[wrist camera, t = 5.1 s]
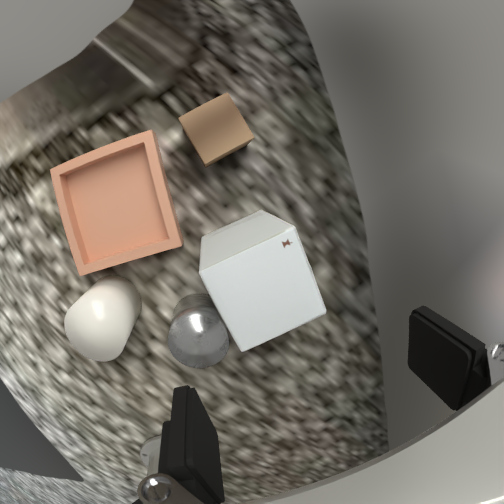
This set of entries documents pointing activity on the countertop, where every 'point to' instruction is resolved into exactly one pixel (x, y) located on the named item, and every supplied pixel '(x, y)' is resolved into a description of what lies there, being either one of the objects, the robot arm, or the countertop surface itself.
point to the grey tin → (198, 332)
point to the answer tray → (116, 204)
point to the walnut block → (216, 129)
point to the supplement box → (259, 278)
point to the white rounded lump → (103, 318)
